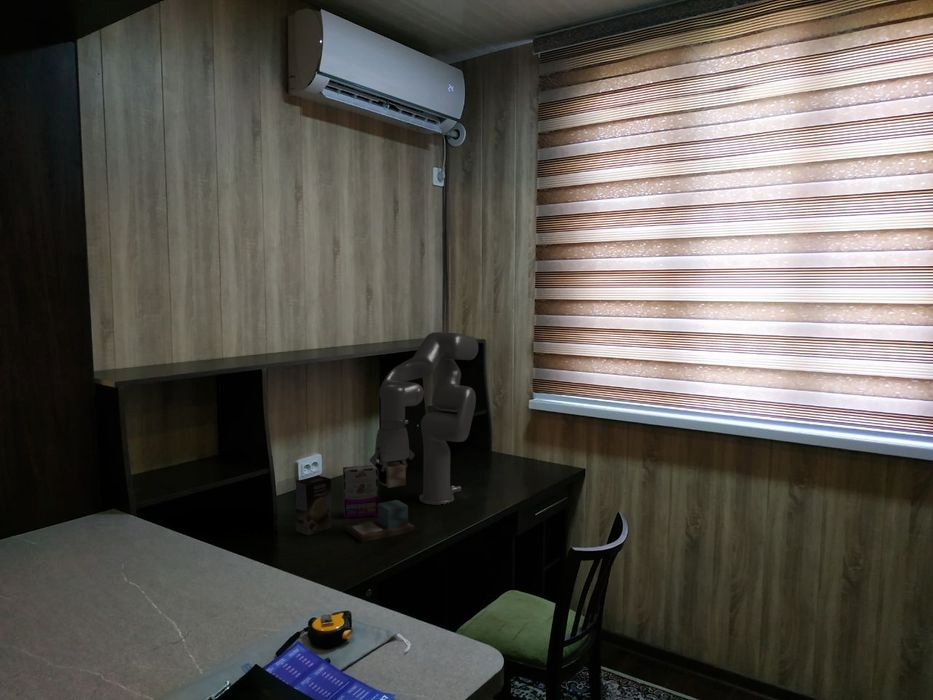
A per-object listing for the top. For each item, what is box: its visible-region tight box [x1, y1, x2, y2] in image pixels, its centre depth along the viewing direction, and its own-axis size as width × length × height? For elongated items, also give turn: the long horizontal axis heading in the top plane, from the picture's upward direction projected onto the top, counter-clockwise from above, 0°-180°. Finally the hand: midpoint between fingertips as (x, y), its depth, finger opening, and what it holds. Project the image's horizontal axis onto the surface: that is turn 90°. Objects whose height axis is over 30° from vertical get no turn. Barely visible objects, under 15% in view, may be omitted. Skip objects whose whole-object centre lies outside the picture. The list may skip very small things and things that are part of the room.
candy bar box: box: [342, 464, 379, 520], centre depth 224 cm, size 11×5×16 cm, turn 105°
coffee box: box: [295, 475, 332, 536], centre depth 210 cm, size 9×6×16 cm
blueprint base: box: [344, 499, 416, 544], centre depth 211 cm, size 18×12×8 cm, turn 125°
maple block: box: [379, 461, 407, 489], centre depth 212 cm, size 6×6×6 cm
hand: (392, 480), depth 212 cm, fingers closed on maple block, 6 cm apart
